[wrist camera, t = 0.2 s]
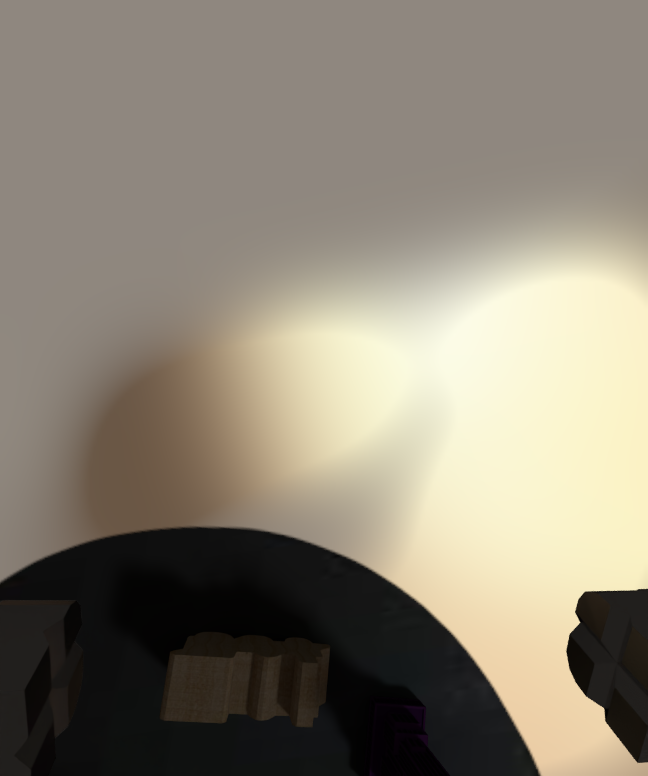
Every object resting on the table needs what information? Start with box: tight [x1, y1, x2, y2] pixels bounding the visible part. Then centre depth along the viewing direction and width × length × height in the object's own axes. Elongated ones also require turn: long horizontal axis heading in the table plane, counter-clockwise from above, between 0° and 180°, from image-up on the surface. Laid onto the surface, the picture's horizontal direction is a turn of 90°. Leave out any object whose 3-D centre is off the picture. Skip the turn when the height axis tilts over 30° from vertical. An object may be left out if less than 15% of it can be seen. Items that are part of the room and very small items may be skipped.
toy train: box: [160, 632, 330, 727], centre depth 51 cm, size 6×17×10 cm, turn 84°
